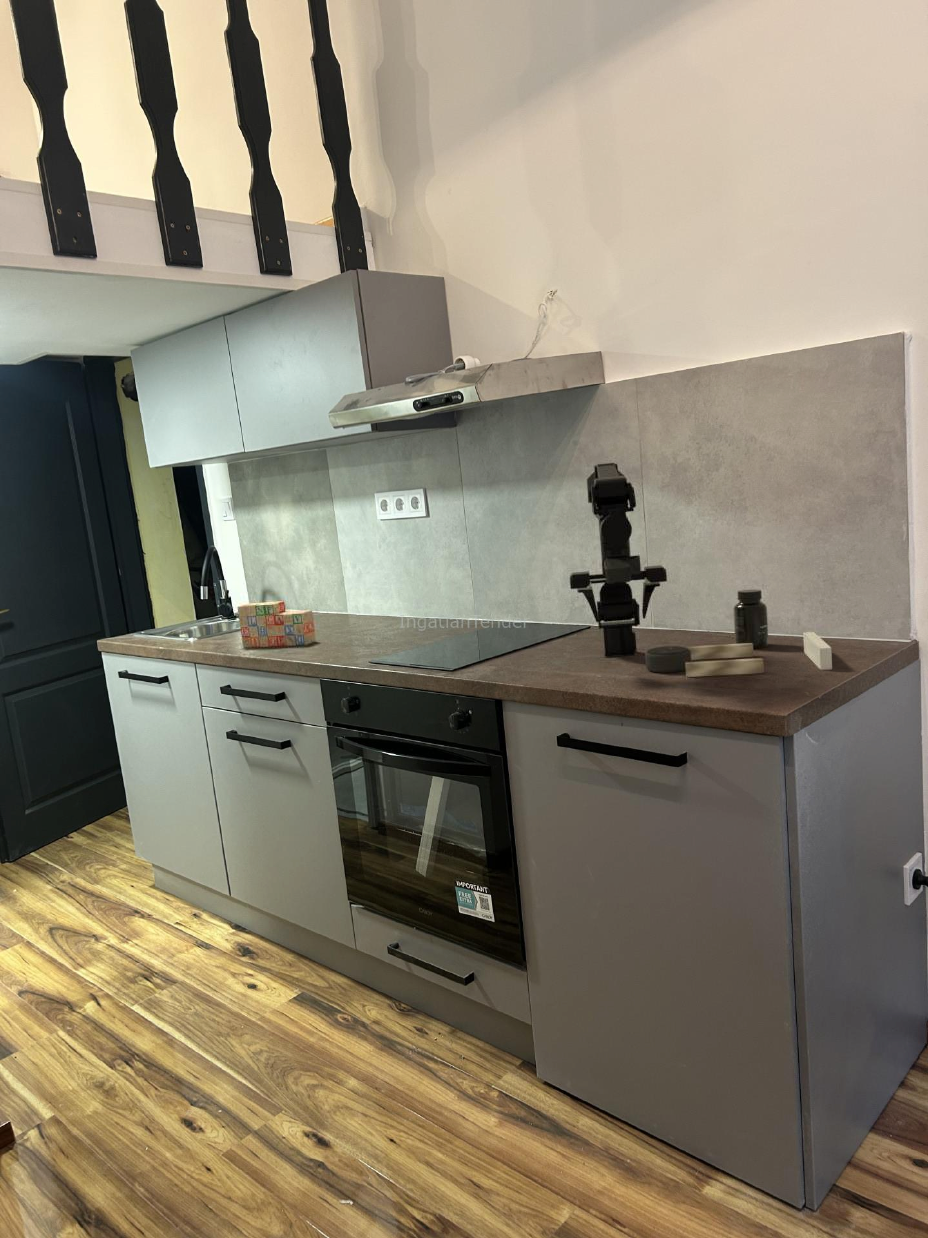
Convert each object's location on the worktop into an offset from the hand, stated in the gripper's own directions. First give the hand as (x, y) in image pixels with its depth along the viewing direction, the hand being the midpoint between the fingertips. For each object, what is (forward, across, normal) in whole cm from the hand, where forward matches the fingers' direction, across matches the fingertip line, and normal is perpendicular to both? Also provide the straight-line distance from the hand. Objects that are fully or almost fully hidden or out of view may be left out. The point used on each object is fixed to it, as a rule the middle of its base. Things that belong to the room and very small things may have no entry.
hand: (620, 620), depth 181 cm
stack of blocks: (+10, -96, +68) cm, 118 cm away
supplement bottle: (+10, +28, +16) cm, 34 cm away
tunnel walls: (+10, +19, -2) cm, 21 cm away
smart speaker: (+11, +9, -1) cm, 14 cm away
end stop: (+10, +37, -2) cm, 38 cm away
